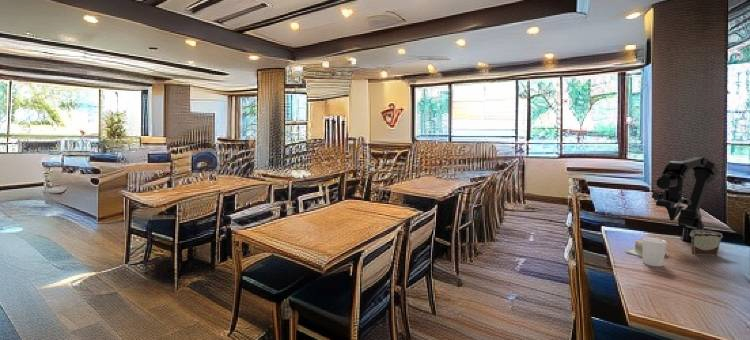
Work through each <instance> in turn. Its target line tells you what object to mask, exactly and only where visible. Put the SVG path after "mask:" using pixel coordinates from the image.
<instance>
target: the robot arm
mask: <svg viewBox="0 0 750 340" xmlns="http://www.w3.org/2000/svg"><path fill="white" fill-rule="evenodd" d="M691 169H692V171H693V176H694V179H695V183H694V185H693V188H692V191H691V194H690V196H689V197H690V198H684V197H683V194H685V190H684V181H685V179H687V176H686V175H687V173H689V171H690V170H691ZM718 173H719V170H718V167H717V165H716V164H715V163H713V162H712V161H710V160H709V159H708V158H707V157H705V156H693V157H692V158H691V157H690V158H688V159H685V160H681V161H679V160H675V161H674V160H670V161H669V162H668V163H667V164H666V166H665V167H664V169H663V171H662V173H661V177H659V178H658V179H657V180H656V186H657V187H658V189H660V190H664V192H660V191H653V192H652V194H651V198H652V199H653V200H654V201H655V206H656V207H663V208H665V209H666V211H667V213H668V217H669V221H674V220H675V219H676V218H677V223H678V225H677V226H678V228H683V230H682V236H680V237H679V238H680V240H681V241H683V242H689V243H692V240H691V236H690V233H691V231H692V230H705V224H704V223H703V221H702V218H703V216H702V215H701V212H700V210H701V206H702V203H703V202H704V197H705V195H706V192H707V188H708V186H709V183H711V182H713V180H715V177H716V175H718ZM683 204H684V205H686V208H685V206H682V205H683Z"/></svg>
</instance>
